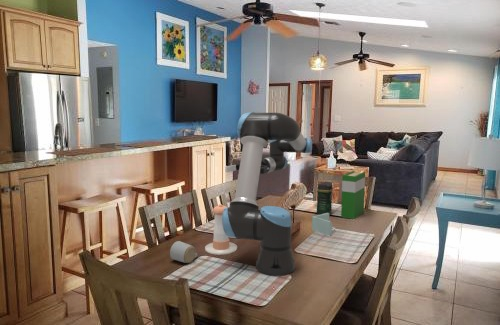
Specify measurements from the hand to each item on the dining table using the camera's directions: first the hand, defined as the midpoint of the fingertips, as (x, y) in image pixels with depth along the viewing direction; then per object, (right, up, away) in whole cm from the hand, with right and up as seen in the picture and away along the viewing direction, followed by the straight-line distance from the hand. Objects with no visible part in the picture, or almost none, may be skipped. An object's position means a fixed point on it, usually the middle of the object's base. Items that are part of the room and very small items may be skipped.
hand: (236, 170), depth 182 cm
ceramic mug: (-20, -36, -24) cm, 48 cm away
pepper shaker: (-6, -33, -12) cm, 36 cm away
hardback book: (+66, -26, +42) cm, 83 cm away
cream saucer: (-6, -34, -12) cm, 36 cm away
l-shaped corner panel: (+46, -31, +14) cm, 57 cm away
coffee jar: (+50, -26, +44) cm, 71 cm away
